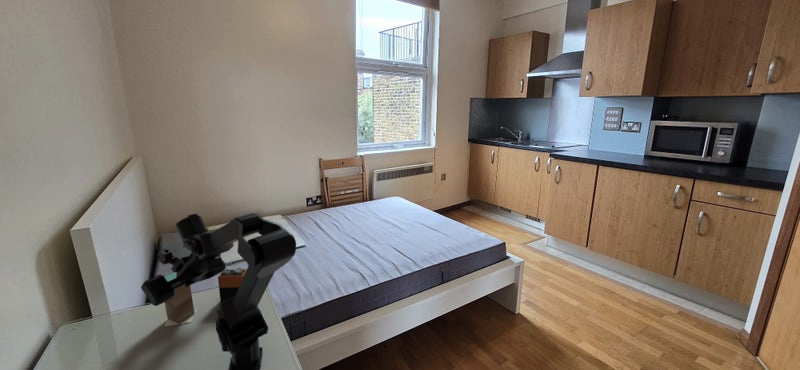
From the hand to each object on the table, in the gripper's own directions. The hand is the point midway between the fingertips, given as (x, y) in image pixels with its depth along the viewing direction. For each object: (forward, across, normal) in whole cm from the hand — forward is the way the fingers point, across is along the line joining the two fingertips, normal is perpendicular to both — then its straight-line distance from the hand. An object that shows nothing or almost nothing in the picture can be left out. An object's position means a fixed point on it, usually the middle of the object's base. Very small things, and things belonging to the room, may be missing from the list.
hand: (174, 290), depth 87 cm
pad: (+5, 0, +6) cm, 8 cm away
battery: (0, -12, +11) cm, 16 cm away
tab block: (+5, 0, +6) cm, 8 cm away
